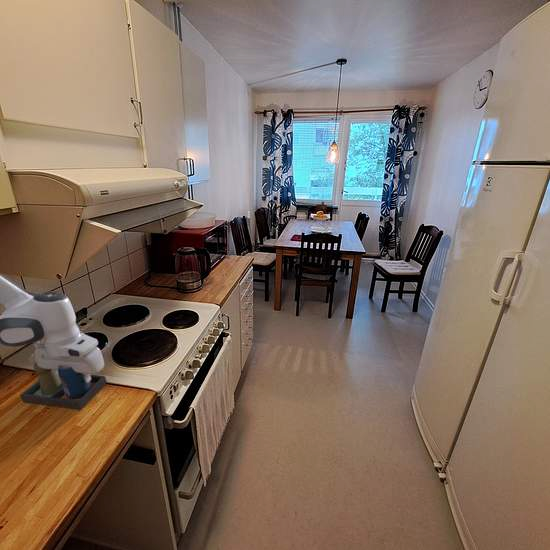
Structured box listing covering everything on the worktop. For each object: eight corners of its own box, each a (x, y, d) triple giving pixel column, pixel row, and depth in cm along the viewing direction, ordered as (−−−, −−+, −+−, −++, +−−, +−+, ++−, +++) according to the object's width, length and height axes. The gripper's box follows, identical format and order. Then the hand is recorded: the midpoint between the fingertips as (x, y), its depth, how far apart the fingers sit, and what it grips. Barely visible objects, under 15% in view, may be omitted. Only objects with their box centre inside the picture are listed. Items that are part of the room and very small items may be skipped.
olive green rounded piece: (37, 397, 90) (26, 369, 86) (45, 383, 95) (36, 356, 91) (59, 393, 91) (49, 365, 87) (66, 380, 97) (58, 353, 92)
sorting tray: (22, 402, 88) (19, 394, 87) (54, 376, 99) (51, 369, 98) (81, 410, 86) (78, 402, 85) (107, 383, 97) (105, 376, 96)
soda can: (95, 383, 95) (87, 354, 91) (86, 399, 89) (76, 369, 85) (72, 385, 94) (63, 356, 90) (61, 402, 88) (51, 371, 84)
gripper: (23, 346, 83) (37, 383, 88) (87, 353, 81) (97, 390, 86) (42, 334, 89) (54, 369, 94) (102, 340, 86) (111, 376, 92)
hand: (75, 379), depth 90 cm, fingers closed on soda can, 7 cm apart
